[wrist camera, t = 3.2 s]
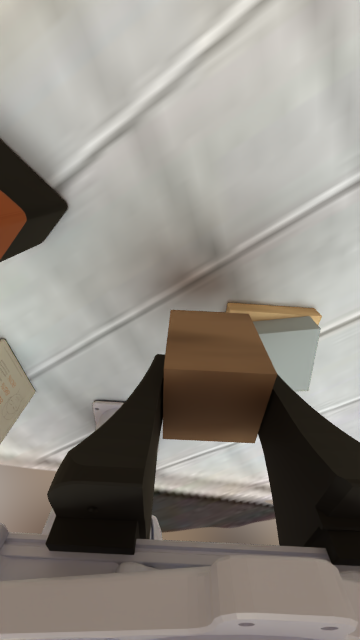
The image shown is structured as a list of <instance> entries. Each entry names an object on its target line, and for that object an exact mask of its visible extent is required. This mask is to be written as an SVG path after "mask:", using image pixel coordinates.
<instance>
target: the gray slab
mask: <svg viewBox="0 0 360 640" xmlns="http://www.w3.org/2000/svg"><path fill="white" fill-rule="evenodd" d="M253 324H254V326H255V328H256V330H257V332H258V334H259V336H260V338H261V341H262V343H263V345H264V347H265V349H266V351H267V353H268V355H269V358H270V360H271V362H272V364H273V366H274V368H275V370H276V372H277V374H278V375H279V376H280V377H281V378H282V379H283V380H284V381H285V382H286V384H287V385H288V386H289V387H290V388H291V389H292V390H293V391H294V392H296V391H308V390H309V385H310V380H311V375H312V370H313V365H314V359H315V354H316V349H317V344H318V339H319V334H320V329H321V328H320V327H319V326H318V325H317V324H316V323H315V322H314V320H313V319H312V318H311V317H310V316H304V317H294V318H284V319H274V320H263V321H253Z"/></svg>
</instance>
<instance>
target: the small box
mask: <svg viewBox="0 0 360 640" xmlns="http://www.w3.org/2000/svg"><path fill="white" fill-rule="evenodd" d="M34 394H35V390H34V388H33V387H32V385H31V383H30V382H29V380H28V378H27V376H26V375H25V373H24V371H23V370H22V368H21V366H20V364H19V363H18V361H17V359H16V358H15V356H14V354H13V353H12V351H11V349H10V348H9V346H8V344H7V342H6V341H5V339H1V340H0V444H1V442H2V441H3V439H4V438H5V436H6V435H7V433H8V432H9V430H10V429H11V427H12V426H13V425H14V423H15V422H16V420H17V419H18V417H19V416H20V414H21V413H22V411H23V410H24V408H25V407H26V405H27V404H28V403H29V401H30V400H31V398H32V397H33V395H34Z"/></svg>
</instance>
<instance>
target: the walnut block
mask: <svg viewBox="0 0 360 640" xmlns="http://www.w3.org/2000/svg"><path fill="white" fill-rule="evenodd" d="M276 377H277V372H276V370H275V368H274V366H273V364H272V362H271V360H270V358H269V355H268V353H267V351H266V349H265V347H264V345H263V343H262V341H261V338H260V336H259V334H258V332H257V330H256V328H255V326H254V324H253V321H252V319H251V317H250V315H249V314H245V313H225V312H205V311H185V310H171V311H170V320H169V328H168V337H167V345H166V354H165V362H164V387H163V439H178V440H199V441H220V442H241V443H255V440H256V437H257V434H258V431H259V428H260V425H261V422H262V419H263V416H264V413H265V410H266V407H267V404H268V401H269V398H270V395H271V392H272V389H273V386H274V383H275V380H276Z"/></svg>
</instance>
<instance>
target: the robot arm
mask: <svg viewBox="0 0 360 640" xmlns="http://www.w3.org/2000/svg"><path fill="white" fill-rule="evenodd" d="M164 362H165V355H161V354H157V355H156V356H155V358H154V360H153V362H152V364H151V366H150V368H149V369H148V371H147V373H146V374H145V376H144V378H143V379H142V381H141V382H140V384H139V385H138V386H137V388H136V389H135V390H134V392H133V393H132V394H131V395H130V397H129V398H128V399H127V400H126V401H125V403H122V402H106V401H95V402H93V405H92V406H93V411H94V417H95V422H96V430H95V432H94V433H92V434H91V435H90V436H89V437H87V438H86V439H85V440H83V441H82V442H81V443H79V444H78V445H77V446H75V447H74V448H73V449H71V450H70V451H69V452H68V453H67V455H66V457H65V458H64V460H63V461H62V463H61V465H60V467H59V468H58V470H57V472H56V474H55V477H54V479H53V481H52V484H51V486H50V489H49V491H48V494H47V495H48V499H49V502H50V504H51V506H52V509H51V512H50V514H49V517H48V519H47V522H46V524H45V526H44V529H43V531H42V534H32V533H11V532H8V530H7V528H6V526H5V525H3V524H2V523H0V640H360V442H358V441H357V440H355V439H354V438H352V437H351V436H349V435H347V434H346V433H345V432H343V431H342V430H340V429H339V428H338V427H336V426H335V425H333V424H332V423H331V422H329V421H328V420H327V419H325V418H324V417H323V416H322V415H320V414H319V413H318V412H317V411H315V410H314V409H313V408H312V407H311V406H310V405H308V404H307V403H306V402H305V401H304V400H303V399H302V398H301V397H300V396H299V395H298V394H296V393H295V392H294V391H293V390H292V389H291V388H290V387H289V386H288V385H287V384H286V382H285V381H284V380H283V379H282V378H281V377H280V376H279V375H278V374H277V377H276V380H275V383H274V386H273V389H272V392H271V395H270V398H269V401H268V404H267V407H266V410H265V413H264V416H263V419H262V422H261V425H260V428H259V431H258V435H259V438H260V441H261V445H262V448H263V452H264V457H265V461H266V466H267V471H268V476H269V482H270V487H271V493H272V499H273V505H274V511H275V517H276V524H277V531H278V538H279V544H280V546H274V545H254V544H234V543H212V542H192V541H172V540H162V534H161V529H160V526H159V523H158V520H157V518H156V517H155V516H153V515H152V506H153V494H154V483H155V472H156V461H157V452H158V446H159V436H160V431H161V425H162V420H163V387H164Z"/></svg>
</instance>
